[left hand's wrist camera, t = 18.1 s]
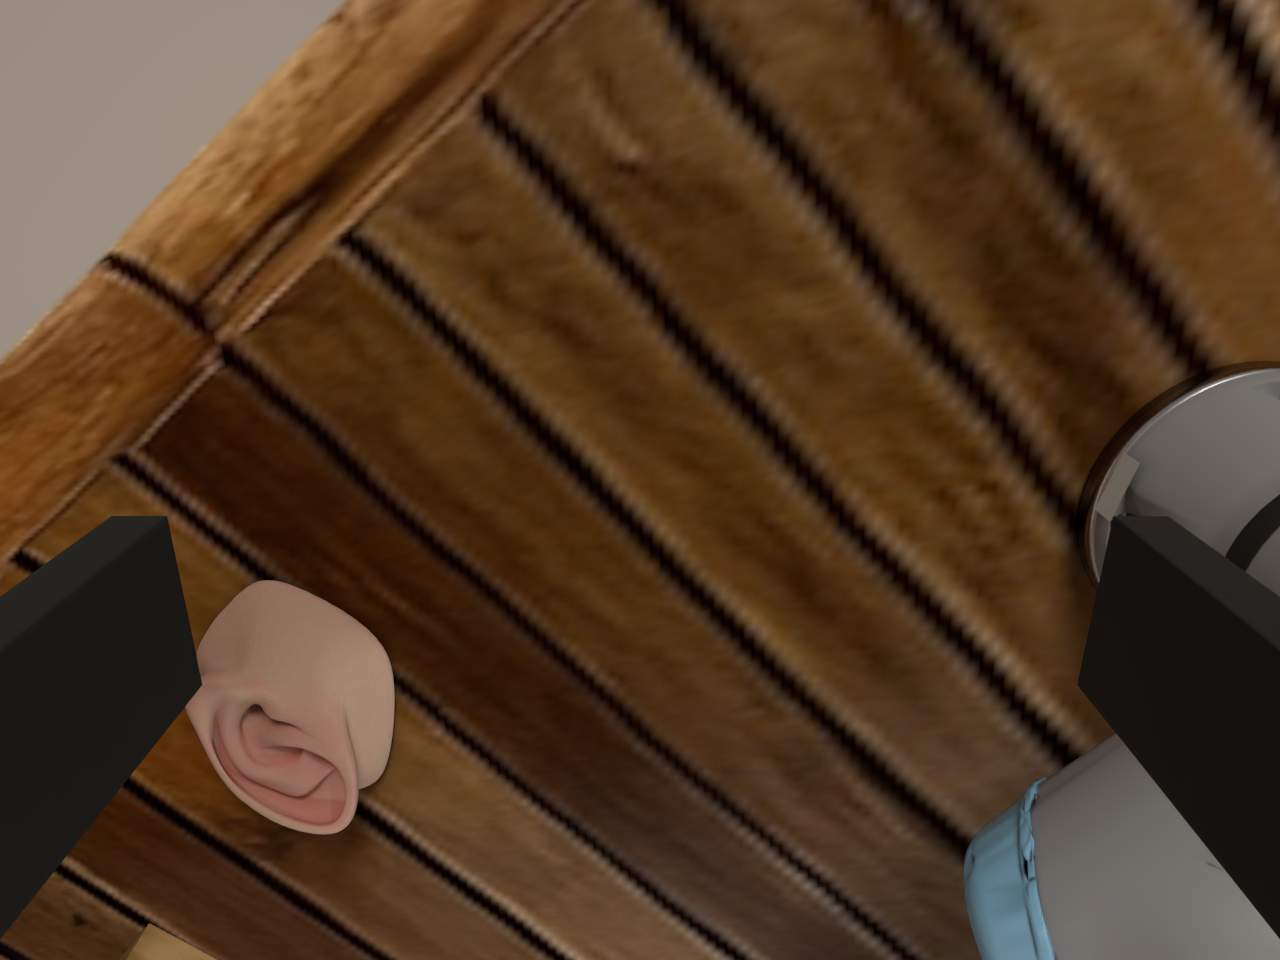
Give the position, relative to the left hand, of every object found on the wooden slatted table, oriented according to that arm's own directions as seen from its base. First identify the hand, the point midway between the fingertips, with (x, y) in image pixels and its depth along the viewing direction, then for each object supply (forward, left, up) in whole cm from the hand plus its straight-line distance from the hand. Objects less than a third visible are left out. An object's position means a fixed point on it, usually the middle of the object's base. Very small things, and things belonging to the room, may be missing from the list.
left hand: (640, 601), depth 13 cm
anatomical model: (-3, +30, -31) cm, 43 cm away
